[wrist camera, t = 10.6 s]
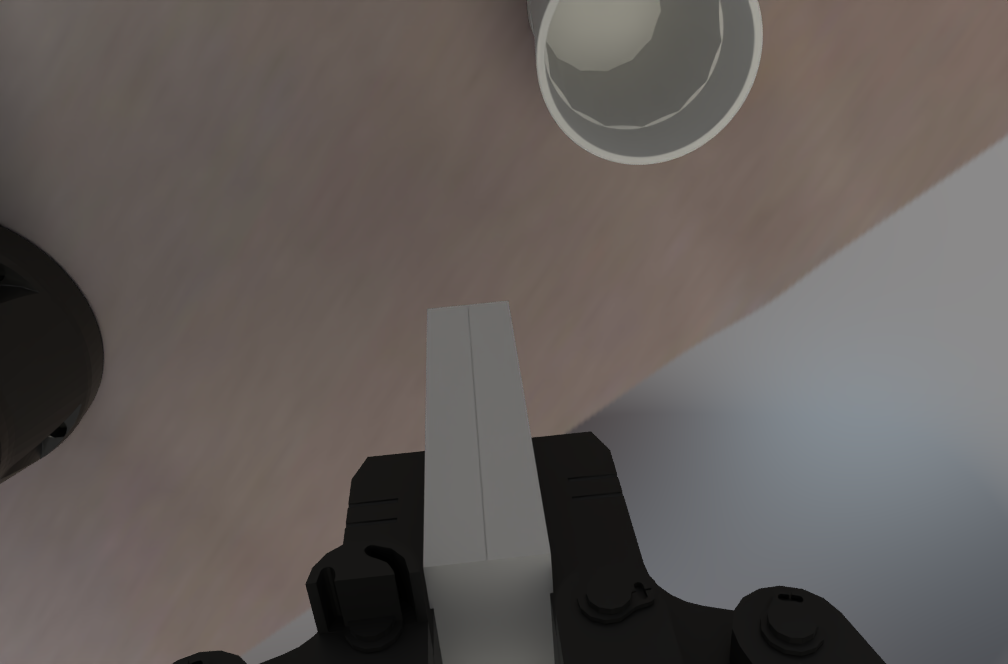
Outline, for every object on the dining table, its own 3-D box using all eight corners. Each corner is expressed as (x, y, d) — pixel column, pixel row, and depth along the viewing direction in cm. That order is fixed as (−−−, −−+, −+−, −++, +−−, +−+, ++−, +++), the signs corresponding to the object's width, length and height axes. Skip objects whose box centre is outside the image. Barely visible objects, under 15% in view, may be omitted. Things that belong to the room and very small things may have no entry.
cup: (547, -120, 38) (590, -112, 27) (706, -52, 39) (805, -20, 29) (485, 56, 41) (503, 124, 31) (634, 111, 43) (699, 192, 32)
